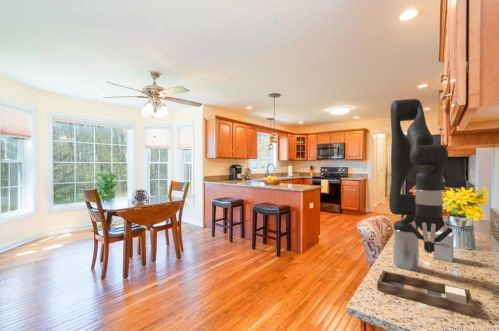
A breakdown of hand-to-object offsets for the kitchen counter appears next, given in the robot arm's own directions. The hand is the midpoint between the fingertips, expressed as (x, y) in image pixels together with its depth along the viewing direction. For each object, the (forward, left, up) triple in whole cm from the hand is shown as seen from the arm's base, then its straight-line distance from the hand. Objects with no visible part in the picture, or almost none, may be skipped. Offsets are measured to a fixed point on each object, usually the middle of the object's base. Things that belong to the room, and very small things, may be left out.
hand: (429, 252), depth 83 cm
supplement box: (-35, +33, -17) cm, 51 cm away
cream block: (+4, +5, -15) cm, 17 cm away
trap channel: (-1, -2, -16) cm, 16 cm away
